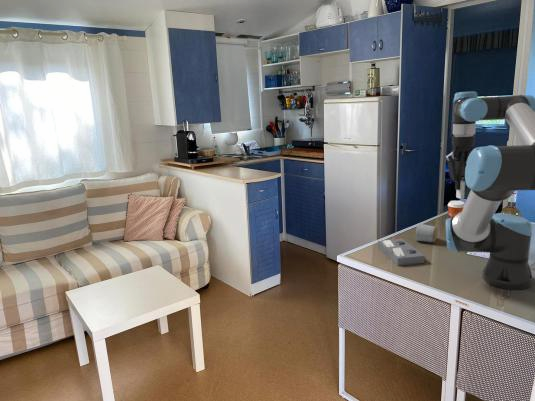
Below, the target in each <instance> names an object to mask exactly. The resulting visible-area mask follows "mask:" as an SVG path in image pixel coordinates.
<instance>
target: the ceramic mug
mask: <svg viewBox="0 0 535 401" xmlns="http://www.w3.org/2000/svg"><path fill="white" fill-rule="evenodd" d="M437 236H438V228H437V227H436V226H433V225H428V224H422V223H417V226H416V229H415V240H416V241H418V242H426V243H435V242H436V240H437Z"/></svg>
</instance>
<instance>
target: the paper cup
mask: <svg viewBox="0 0 535 401" xmlns="http://www.w3.org/2000/svg"><path fill="white" fill-rule="evenodd" d="M465 203H466V202H464V201H461V200H450V201H449V202H448V204H447V207H448V208H447V210H448V211H447V214H448V218H454V217H455V216H456V215H457V214H458V213H460V212H462V210H463V208H464V205H465ZM448 218H447V219H448Z"/></svg>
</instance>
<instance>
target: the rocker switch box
mask: <svg viewBox="0 0 535 401" xmlns="http://www.w3.org/2000/svg"><path fill="white" fill-rule="evenodd" d="M389 240H390V241H391V242H392V243H393V245H394V246H395V247H386V246H385V245H384V244H383V241H385V240H378V241H377V248H378V249H379V251H381V252H382V253H383V254H384V255H385V256H386V257H387V258H389V259H390V261H391V262H393V263H394V264H395V265H396V266H397V267H399V266H408V265H415V264H424V263H425V259H426V258H425V254H423V253H422V252H421V251H419V250H417V248H416V247H414V246H413V245H411V244H410V243H409V242H408V241H406V240H405V239H403V238H396V239H395V238H394V239H389ZM400 247H401V249H402V251H403V253H404V255H405V256H396V255H395V254H394V252H393V248H400Z"/></svg>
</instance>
